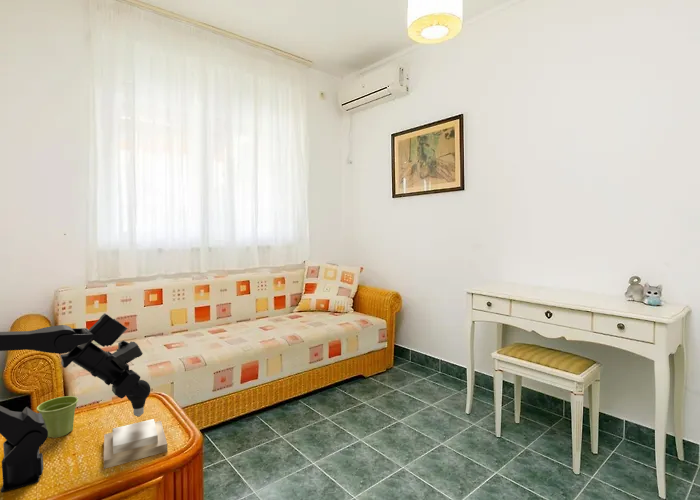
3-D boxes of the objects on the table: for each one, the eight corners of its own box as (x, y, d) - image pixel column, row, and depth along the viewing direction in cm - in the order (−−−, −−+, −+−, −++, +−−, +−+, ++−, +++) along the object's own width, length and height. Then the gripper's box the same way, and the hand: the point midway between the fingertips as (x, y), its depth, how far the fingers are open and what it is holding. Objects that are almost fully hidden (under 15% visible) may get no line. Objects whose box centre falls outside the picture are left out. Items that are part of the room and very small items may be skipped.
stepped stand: (103, 468, 94) (103, 453, 94) (104, 441, 106) (104, 427, 105) (167, 451, 101) (166, 436, 101) (161, 427, 113) (160, 414, 113)
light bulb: (155, 414, 107) (155, 378, 107) (135, 423, 102) (135, 386, 102) (141, 409, 110) (140, 375, 109) (121, 418, 105) (120, 382, 104)
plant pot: (41, 446, 103) (39, 414, 103) (35, 433, 110) (34, 403, 109) (83, 432, 110) (81, 403, 110) (75, 421, 117) (74, 393, 116)
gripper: (130, 342, 95) (177, 375, 103) (112, 327, 109) (155, 358, 117) (93, 382, 90) (145, 413, 98) (79, 361, 104) (126, 390, 112)
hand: (143, 391), depth 107 cm, fingers closed on light bulb, 6 cm apart
